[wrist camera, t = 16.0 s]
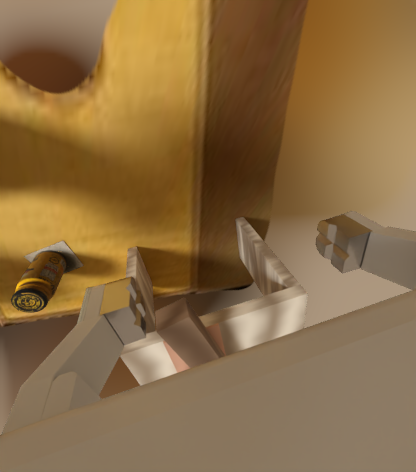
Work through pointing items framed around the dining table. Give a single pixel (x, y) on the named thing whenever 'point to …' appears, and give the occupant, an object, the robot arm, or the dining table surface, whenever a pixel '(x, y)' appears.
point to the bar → (186, 334)
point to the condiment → (43, 276)
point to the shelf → (223, 311)
